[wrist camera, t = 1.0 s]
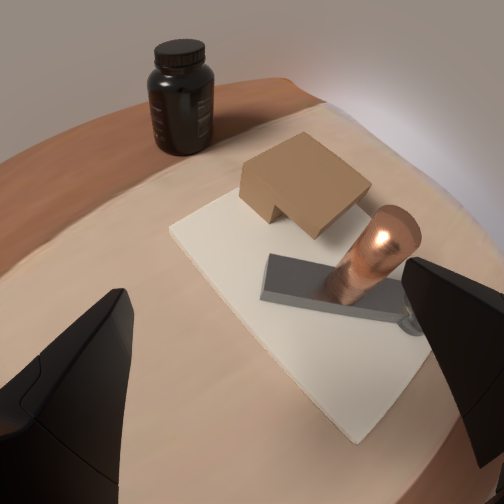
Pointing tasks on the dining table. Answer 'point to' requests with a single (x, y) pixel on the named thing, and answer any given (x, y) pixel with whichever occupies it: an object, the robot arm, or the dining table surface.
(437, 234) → the dining table surface
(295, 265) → the link
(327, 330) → the base
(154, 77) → the supplement bottle
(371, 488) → the dining table surface
